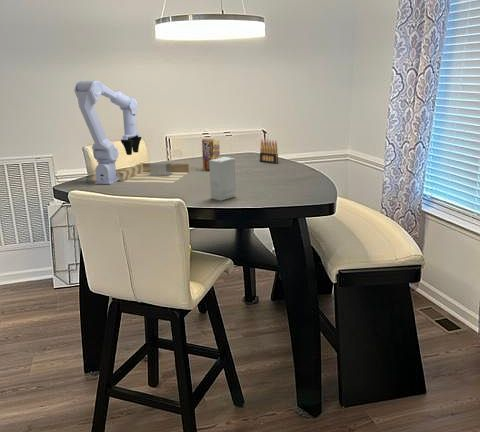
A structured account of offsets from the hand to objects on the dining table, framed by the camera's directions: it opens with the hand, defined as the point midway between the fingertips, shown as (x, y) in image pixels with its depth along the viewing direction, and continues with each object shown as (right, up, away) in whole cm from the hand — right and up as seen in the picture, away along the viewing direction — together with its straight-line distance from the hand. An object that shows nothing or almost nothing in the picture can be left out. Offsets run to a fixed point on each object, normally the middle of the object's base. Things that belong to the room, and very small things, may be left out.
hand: (132, 153), depth 238 cm
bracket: (+14, -10, -4) cm, 17 cm away
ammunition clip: (+65, -2, +25) cm, 70 cm away
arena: (+12, -12, -8) cm, 19 cm away
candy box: (+37, -8, +6) cm, 38 cm away
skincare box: (+44, -23, -46) cm, 68 cm away
